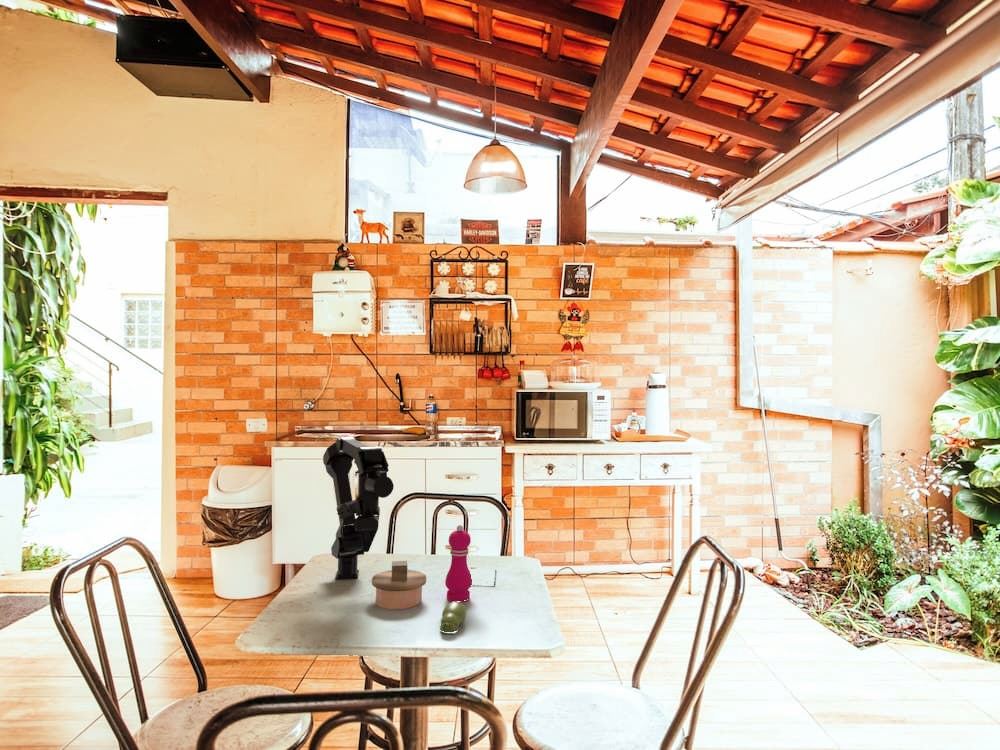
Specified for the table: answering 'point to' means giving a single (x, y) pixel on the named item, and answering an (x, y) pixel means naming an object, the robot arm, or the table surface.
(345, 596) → the table surface
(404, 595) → the terracotta bowl
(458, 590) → the pepper mill
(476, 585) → the table surface
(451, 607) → the pear
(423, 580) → the walnut lid
